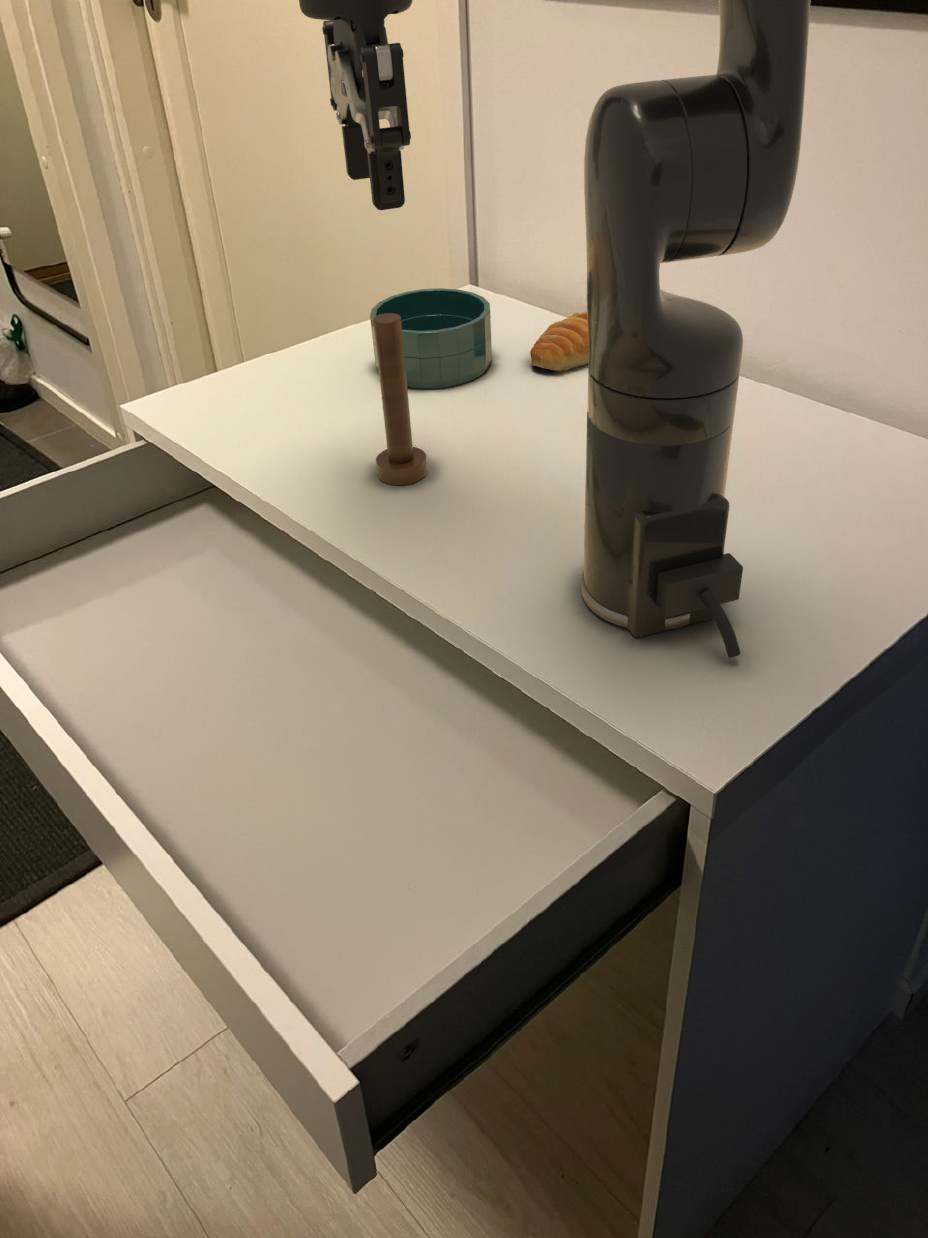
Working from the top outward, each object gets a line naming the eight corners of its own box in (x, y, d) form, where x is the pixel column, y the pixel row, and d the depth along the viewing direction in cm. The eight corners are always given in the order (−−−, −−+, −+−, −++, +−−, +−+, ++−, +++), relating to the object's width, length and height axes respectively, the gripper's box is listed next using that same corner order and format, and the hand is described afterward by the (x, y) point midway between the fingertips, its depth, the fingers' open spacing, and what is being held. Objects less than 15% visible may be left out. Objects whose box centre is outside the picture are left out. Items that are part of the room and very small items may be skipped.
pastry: (565, 381, 102) (565, 345, 100) (513, 366, 106) (512, 331, 103) (618, 350, 108) (619, 315, 105) (566, 337, 111) (566, 302, 109)
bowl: (508, 377, 104) (506, 320, 100) (392, 398, 101) (386, 340, 98) (471, 334, 113) (468, 281, 109) (365, 353, 110) (358, 299, 107)
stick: (433, 479, 88) (420, 322, 79) (384, 489, 87) (366, 332, 78) (420, 456, 91) (406, 304, 83) (372, 466, 90) (353, 312, 82)
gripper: (273, -75, 70) (307, 175, 80) (311, -61, 59) (345, 226, 69) (379, -83, 71) (400, 163, 81) (435, -72, 60) (451, 211, 70)
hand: (375, 191), depth 75 cm, fingers open, 8 cm apart
